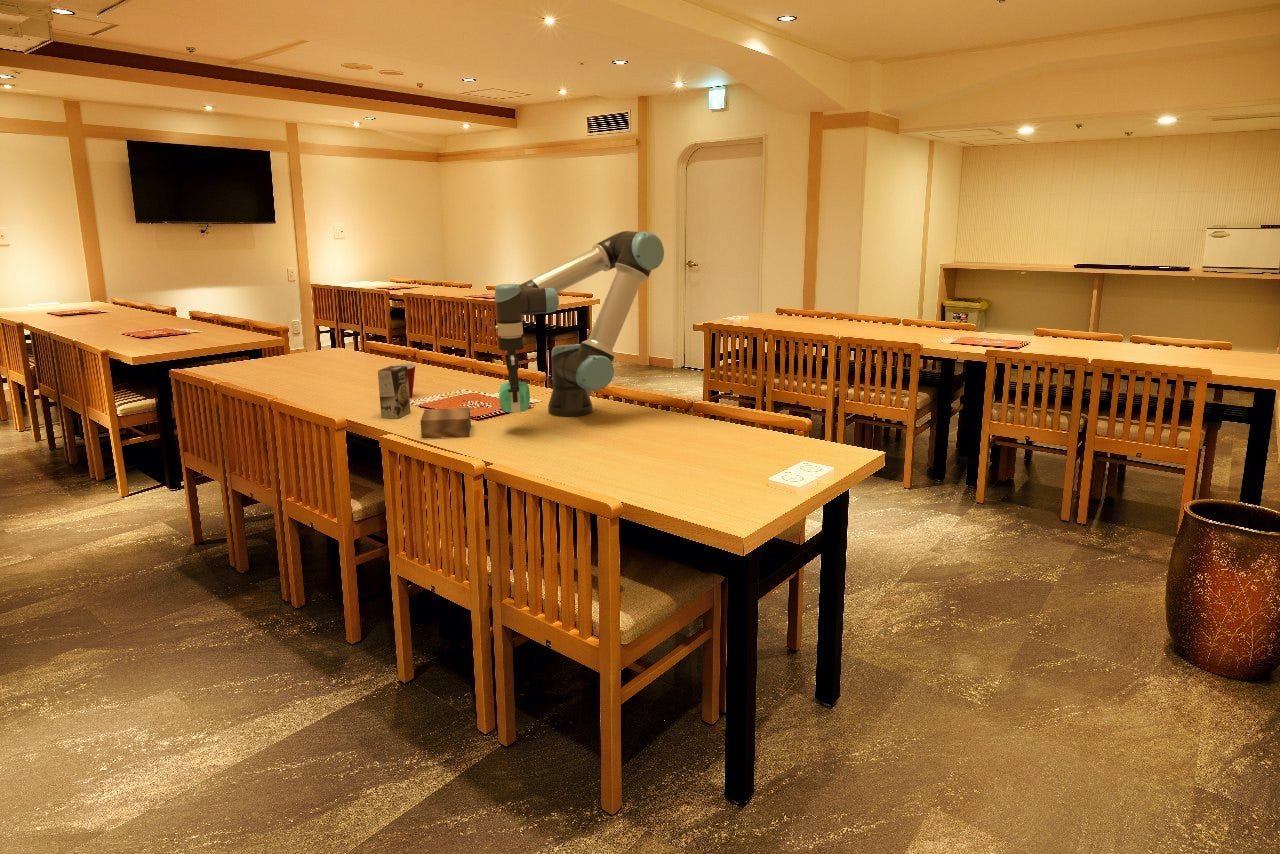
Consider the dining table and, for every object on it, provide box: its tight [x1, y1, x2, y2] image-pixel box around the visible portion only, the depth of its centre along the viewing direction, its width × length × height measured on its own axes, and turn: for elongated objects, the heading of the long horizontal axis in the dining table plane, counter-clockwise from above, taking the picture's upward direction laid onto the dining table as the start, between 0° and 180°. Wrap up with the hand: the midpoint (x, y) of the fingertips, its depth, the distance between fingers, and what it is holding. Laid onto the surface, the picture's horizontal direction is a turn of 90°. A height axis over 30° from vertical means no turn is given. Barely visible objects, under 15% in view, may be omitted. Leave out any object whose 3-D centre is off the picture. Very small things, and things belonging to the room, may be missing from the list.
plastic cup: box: [391, 362, 417, 399], centre depth 290 cm, size 11×11×12 cm
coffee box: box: [377, 365, 412, 419], centre depth 264 cm, size 9×6×16 cm
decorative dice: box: [498, 381, 531, 414], centre depth 244 cm, size 8×8×8 cm
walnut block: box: [420, 407, 472, 439], centre depth 246 cm, size 14×14×6 cm
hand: (515, 408), depth 245 cm, fingers closed on decorative dice, 9 cm apart
